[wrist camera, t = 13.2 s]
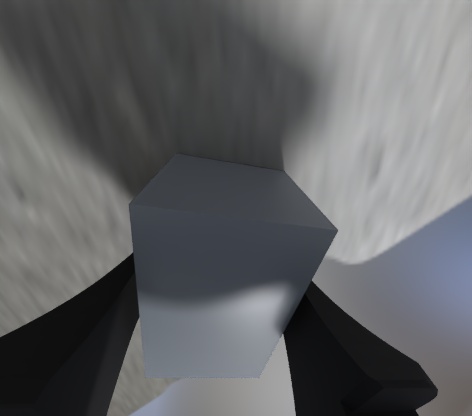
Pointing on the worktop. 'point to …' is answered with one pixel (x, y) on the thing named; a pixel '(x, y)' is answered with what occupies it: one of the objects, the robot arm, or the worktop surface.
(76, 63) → the worktop surface
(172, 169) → the grey rectangular block
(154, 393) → the worktop surface
